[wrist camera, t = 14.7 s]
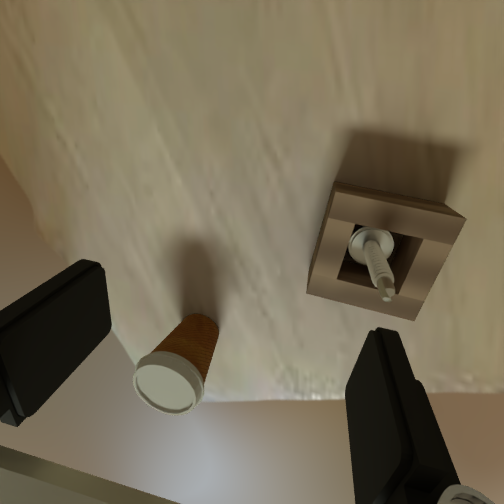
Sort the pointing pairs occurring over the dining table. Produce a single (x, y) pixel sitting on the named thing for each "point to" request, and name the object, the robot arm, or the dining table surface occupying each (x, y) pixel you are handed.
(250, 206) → the dining table surface
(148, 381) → the disposable coffee cup
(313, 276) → the socket block
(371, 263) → the screw
